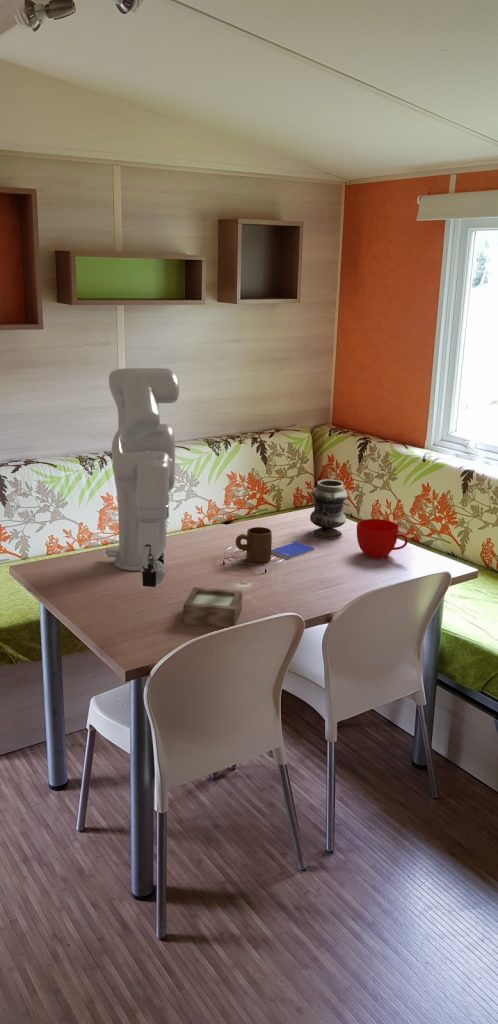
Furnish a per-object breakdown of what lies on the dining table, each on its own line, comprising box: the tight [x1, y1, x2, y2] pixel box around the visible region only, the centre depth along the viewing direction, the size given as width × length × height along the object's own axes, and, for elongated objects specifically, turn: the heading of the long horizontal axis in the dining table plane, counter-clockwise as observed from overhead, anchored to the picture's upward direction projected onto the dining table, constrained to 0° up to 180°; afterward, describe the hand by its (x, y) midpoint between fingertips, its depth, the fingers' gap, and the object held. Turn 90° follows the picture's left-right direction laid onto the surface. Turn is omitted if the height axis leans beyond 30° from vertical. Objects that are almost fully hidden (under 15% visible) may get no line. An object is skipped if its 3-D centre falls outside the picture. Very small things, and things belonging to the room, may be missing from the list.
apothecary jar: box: [309, 479, 348, 539], centre depth 281 cm, size 12×12×18 cm
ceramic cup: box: [356, 518, 409, 560], centre depth 262 cm, size 13×17×10 cm
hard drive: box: [271, 541, 315, 561], centre depth 266 cm, size 2×8×12 cm
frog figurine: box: [140, 558, 167, 586], centre depth 206 cm, size 6×7×7 cm
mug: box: [235, 526, 273, 564], centre depth 256 cm, size 12×8×9 cm, turn 121°
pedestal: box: [182, 586, 243, 628], centre depth 216 cm, size 13×12×5 cm
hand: (153, 579), depth 206 cm, fingers closed on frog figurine, 7 cm apart
